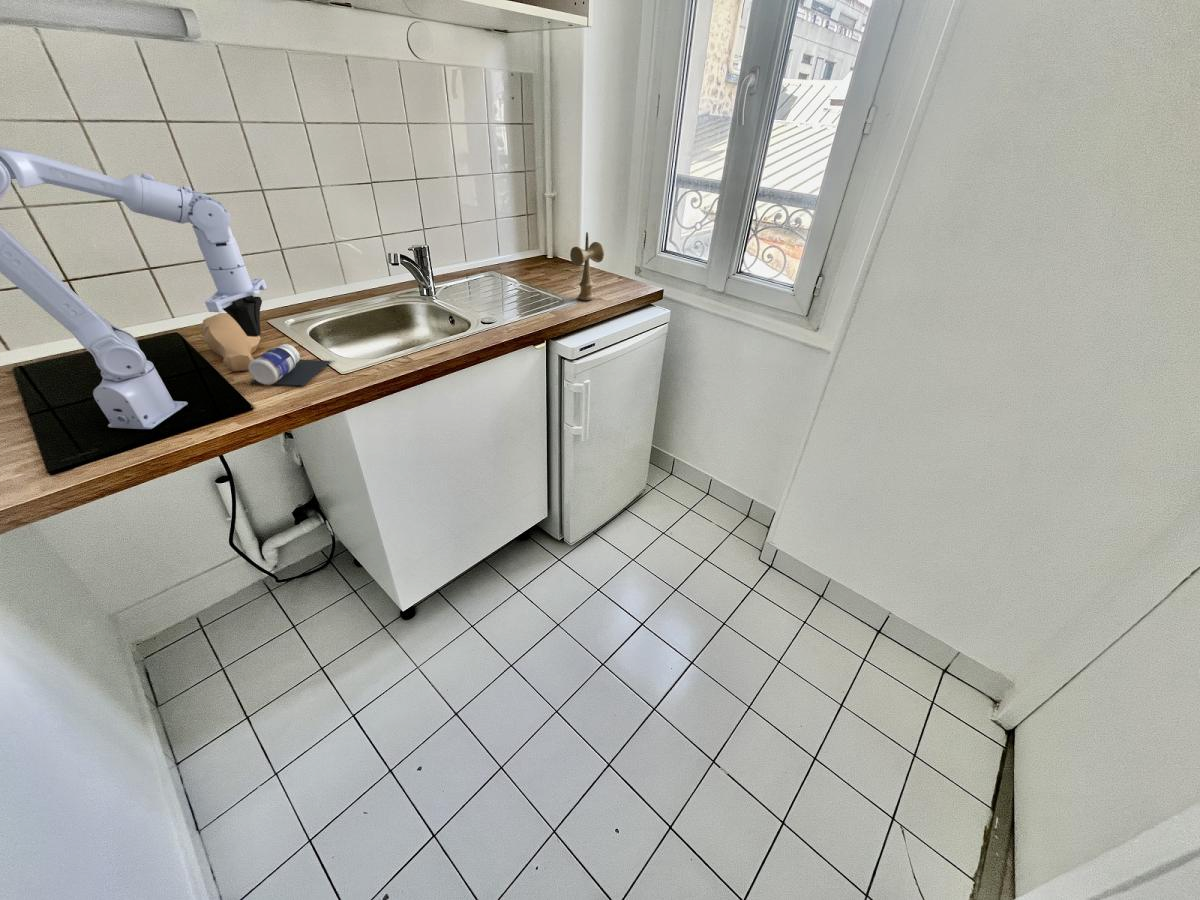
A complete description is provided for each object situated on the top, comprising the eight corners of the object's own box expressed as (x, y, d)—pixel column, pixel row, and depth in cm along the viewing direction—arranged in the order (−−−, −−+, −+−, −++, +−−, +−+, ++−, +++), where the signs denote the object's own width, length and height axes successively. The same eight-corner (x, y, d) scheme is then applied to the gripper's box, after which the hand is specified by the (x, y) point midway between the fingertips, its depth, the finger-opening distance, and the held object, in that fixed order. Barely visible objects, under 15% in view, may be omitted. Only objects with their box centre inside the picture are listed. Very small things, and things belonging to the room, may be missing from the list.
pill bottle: (244, 358, 98) (273, 339, 106) (250, 382, 101) (278, 362, 110) (273, 363, 98) (300, 344, 107) (278, 388, 102) (304, 367, 110)
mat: (302, 386, 102) (301, 385, 102) (250, 384, 103) (250, 382, 102) (330, 362, 112) (329, 360, 112) (283, 360, 112) (282, 358, 112)
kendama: (603, 298, 156) (605, 231, 145) (581, 304, 150) (582, 235, 139) (590, 293, 159) (591, 228, 148) (568, 299, 154) (568, 232, 142)
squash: (256, 338, 122) (250, 304, 117) (274, 377, 111) (269, 341, 106) (202, 341, 116) (193, 305, 111) (216, 383, 105) (207, 344, 100)
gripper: (221, 277, 84) (251, 350, 92) (270, 257, 96) (293, 323, 104) (181, 276, 84) (214, 348, 92) (235, 255, 96) (261, 321, 104)
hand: (254, 335), depth 98 cm, fingers closed
